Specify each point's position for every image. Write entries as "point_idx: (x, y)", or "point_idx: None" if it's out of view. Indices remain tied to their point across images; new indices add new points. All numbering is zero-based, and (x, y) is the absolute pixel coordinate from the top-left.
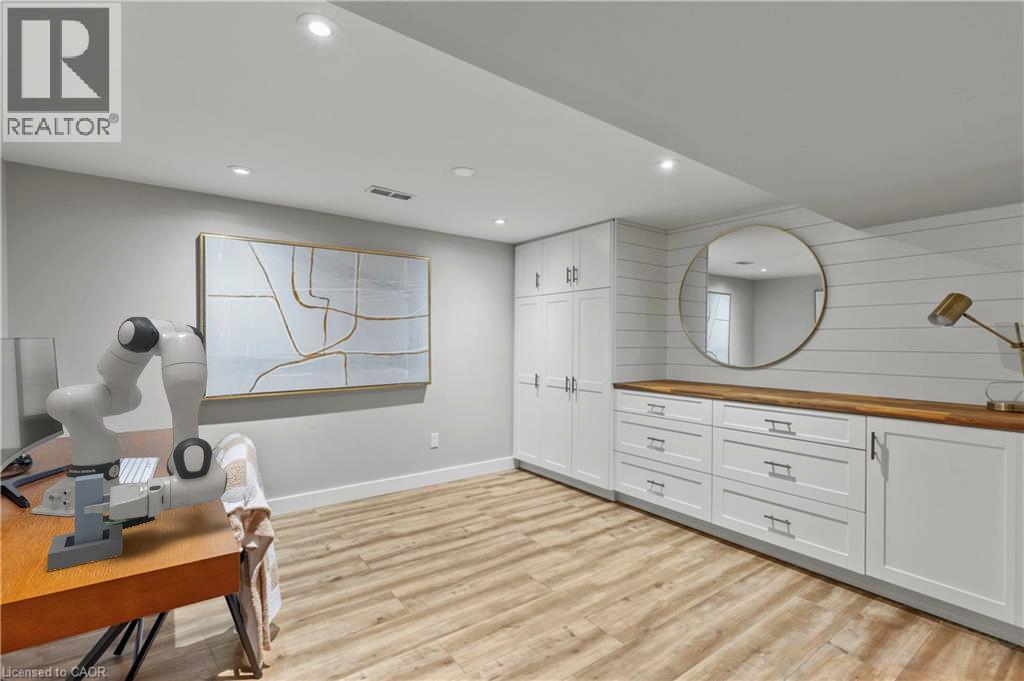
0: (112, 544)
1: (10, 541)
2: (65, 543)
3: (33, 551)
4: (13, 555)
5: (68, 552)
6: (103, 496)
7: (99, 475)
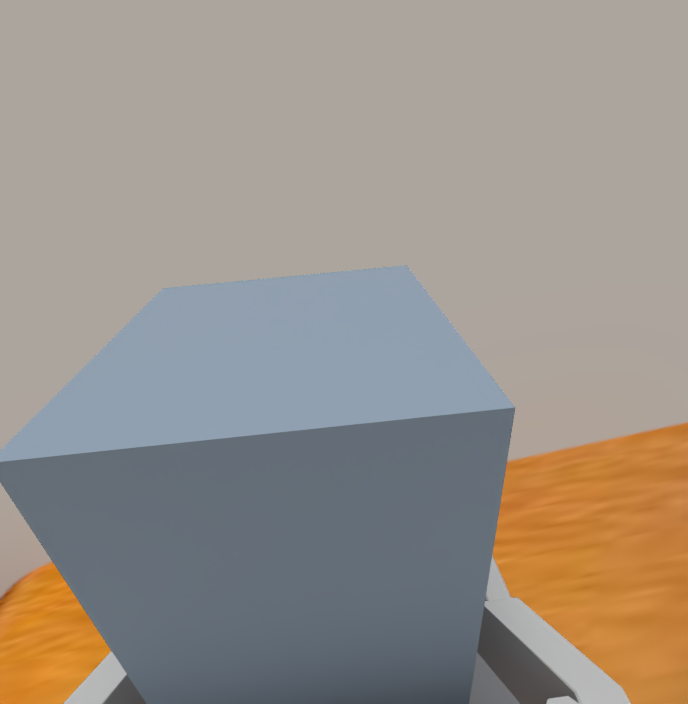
0: None
1: (640, 436)
2: None
3: (512, 516)
4: None
5: None
6: (567, 695)
7: (310, 388)
